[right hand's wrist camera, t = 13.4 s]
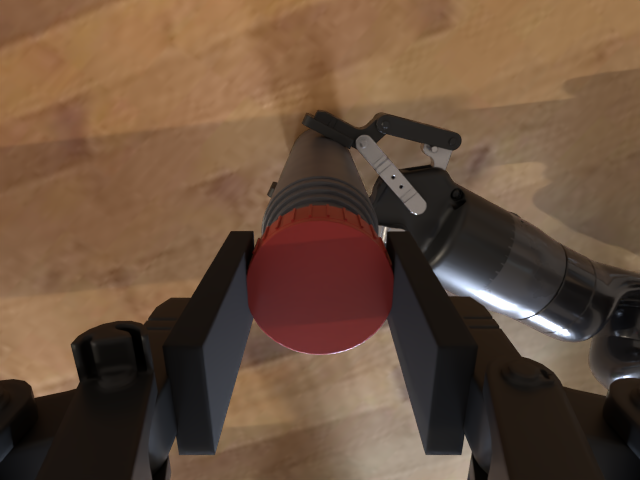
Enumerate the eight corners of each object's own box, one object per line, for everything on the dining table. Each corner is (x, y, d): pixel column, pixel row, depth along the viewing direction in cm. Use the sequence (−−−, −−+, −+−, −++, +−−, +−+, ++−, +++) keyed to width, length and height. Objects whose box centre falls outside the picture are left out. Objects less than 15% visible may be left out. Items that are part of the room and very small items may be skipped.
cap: (410, 295, 15) (421, 320, 13) (292, 347, 16) (290, 377, 14) (352, 177, 13) (356, 190, 12) (225, 242, 14) (213, 262, 12)
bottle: (291, 184, 37) (244, 349, 14) (291, 126, 35) (238, 207, 12) (347, 185, 37) (391, 352, 14) (350, 127, 36) (406, 211, 12)
